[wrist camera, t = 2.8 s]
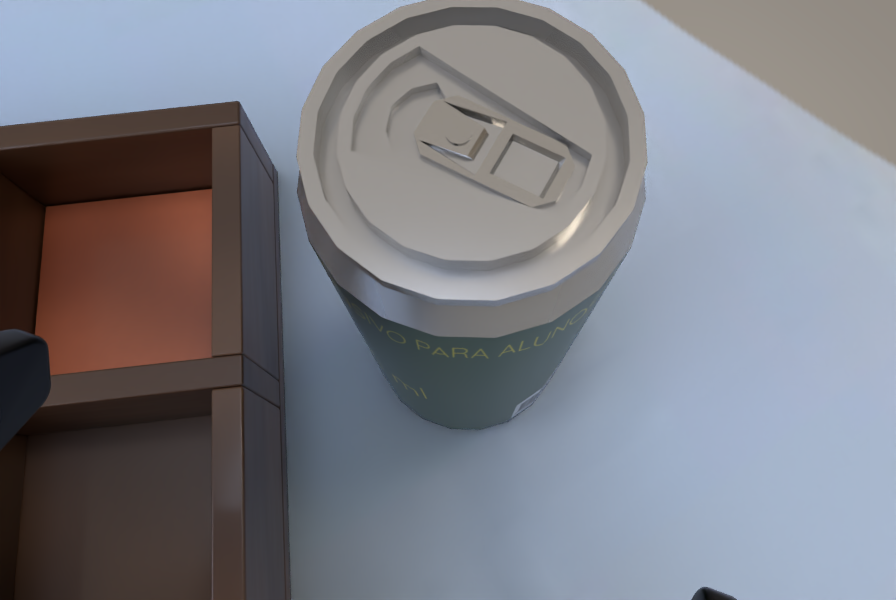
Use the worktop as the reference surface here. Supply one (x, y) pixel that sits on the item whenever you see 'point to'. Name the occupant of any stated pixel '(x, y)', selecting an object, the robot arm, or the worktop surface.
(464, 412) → the beer can
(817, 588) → the worktop surface
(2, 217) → the rack
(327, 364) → the worktop surface
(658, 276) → the worktop surface
